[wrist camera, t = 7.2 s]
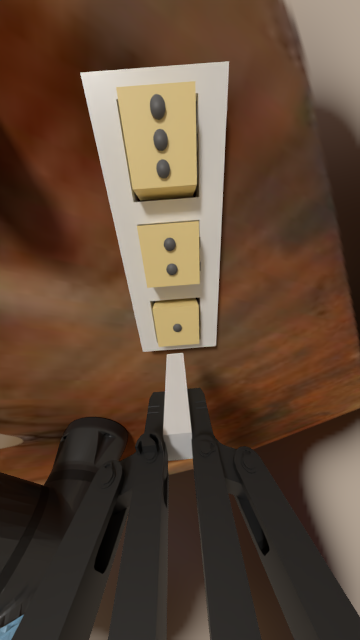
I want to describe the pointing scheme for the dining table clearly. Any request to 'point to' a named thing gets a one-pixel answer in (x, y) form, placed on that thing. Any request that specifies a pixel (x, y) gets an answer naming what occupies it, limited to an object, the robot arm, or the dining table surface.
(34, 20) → the dining table surface
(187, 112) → the three pip key
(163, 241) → the two pip key
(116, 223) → the keypad base
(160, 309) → the one pip key
